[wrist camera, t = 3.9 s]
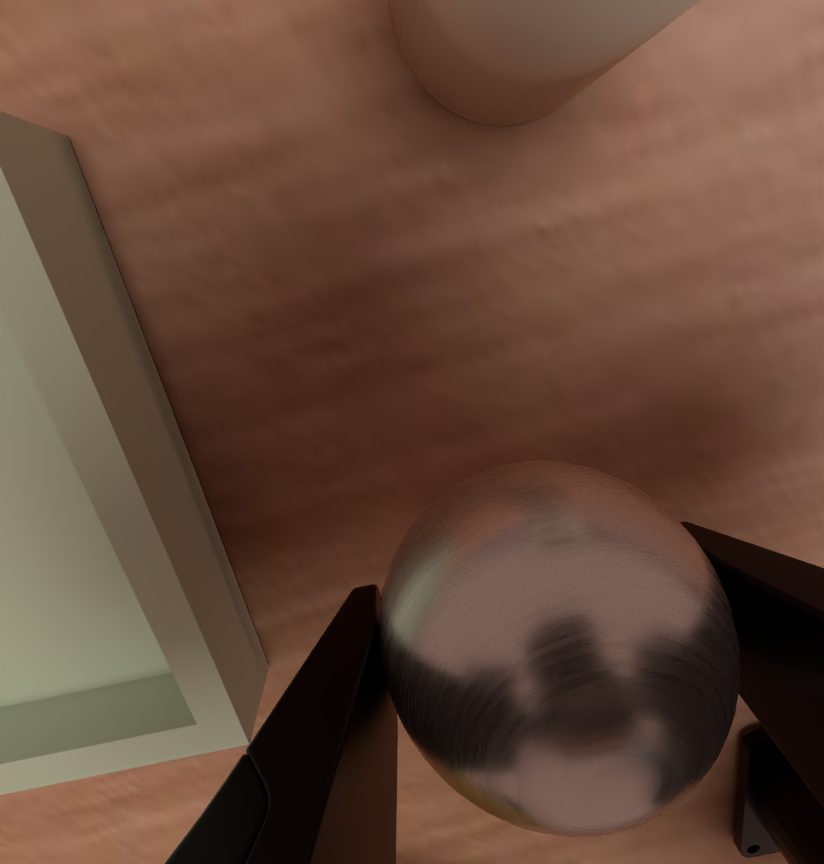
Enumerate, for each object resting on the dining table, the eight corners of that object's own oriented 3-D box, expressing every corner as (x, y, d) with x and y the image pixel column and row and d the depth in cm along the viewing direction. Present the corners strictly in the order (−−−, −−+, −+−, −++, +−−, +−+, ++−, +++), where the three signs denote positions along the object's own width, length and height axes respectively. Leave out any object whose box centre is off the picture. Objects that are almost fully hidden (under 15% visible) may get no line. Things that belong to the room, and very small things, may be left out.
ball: (627, 609, 11) (825, 885, 6) (402, 655, 11) (428, 970, 6) (621, 392, 9) (892, 547, 4) (351, 446, 9) (329, 663, 4)
